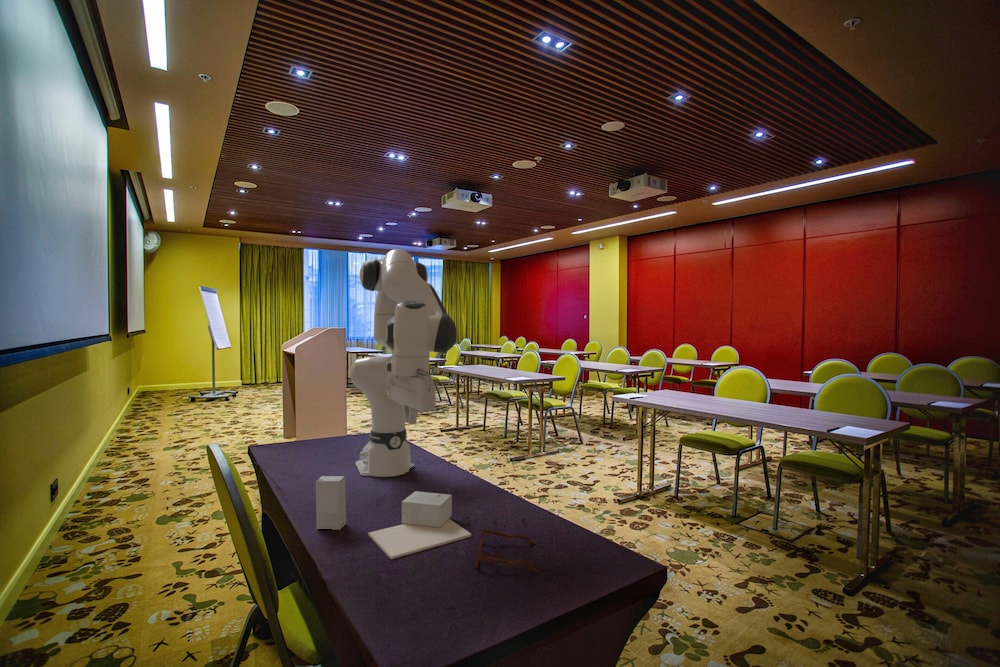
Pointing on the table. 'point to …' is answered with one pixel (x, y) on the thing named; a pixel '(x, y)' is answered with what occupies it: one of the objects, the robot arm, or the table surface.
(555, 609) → the table surface
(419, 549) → the felt mat
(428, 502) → the small box
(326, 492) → the skincare box
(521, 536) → the glasses
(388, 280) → the robot arm
